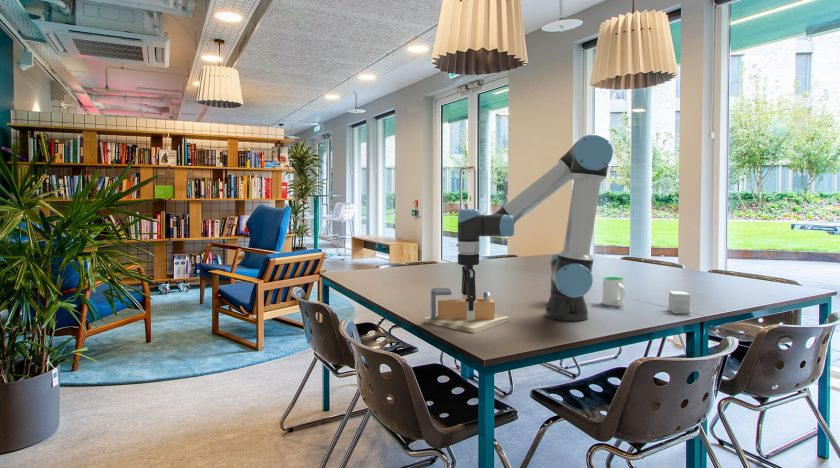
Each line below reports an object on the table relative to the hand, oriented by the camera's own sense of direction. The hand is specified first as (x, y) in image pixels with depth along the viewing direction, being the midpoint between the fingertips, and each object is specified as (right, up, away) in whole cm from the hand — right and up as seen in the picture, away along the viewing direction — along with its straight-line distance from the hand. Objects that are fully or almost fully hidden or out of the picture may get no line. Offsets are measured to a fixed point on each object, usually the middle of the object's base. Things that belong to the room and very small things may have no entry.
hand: (468, 316), depth 182 cm
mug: (+63, 0, +28) cm, 68 cm away
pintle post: (+6, -1, 0) cm, 7 cm away
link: (-1, -1, +1) cm, 2 cm away
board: (-1, -2, +1) cm, 2 cm away
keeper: (-10, -1, -1) cm, 10 cm away
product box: (+82, -1, +15) cm, 83 cm away
